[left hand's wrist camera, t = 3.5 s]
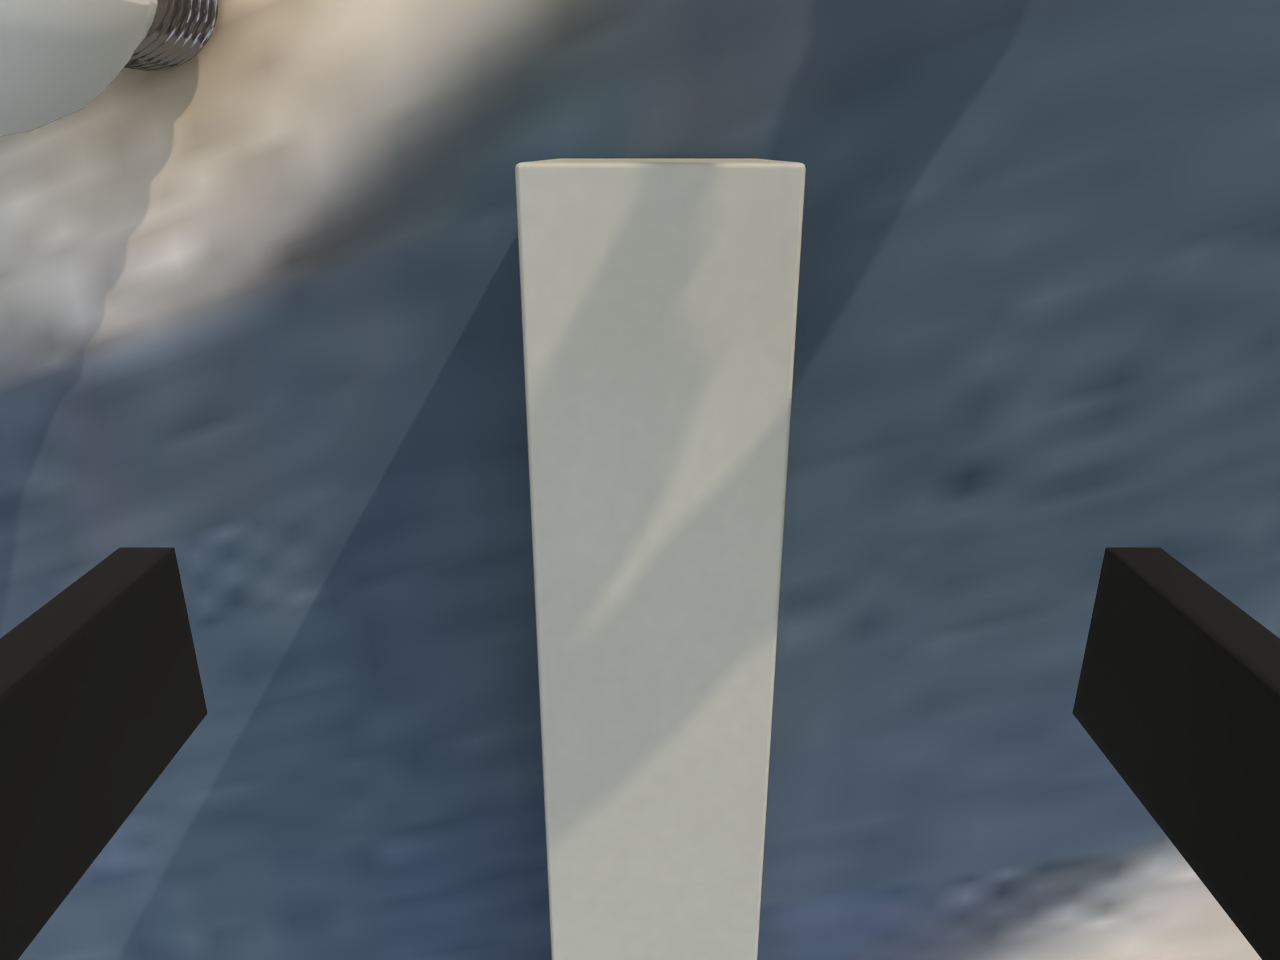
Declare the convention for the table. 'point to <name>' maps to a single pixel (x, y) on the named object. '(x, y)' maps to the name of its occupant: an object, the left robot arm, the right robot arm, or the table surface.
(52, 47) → the light bulb
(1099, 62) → the table surface
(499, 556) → the table surface
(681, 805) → the post
